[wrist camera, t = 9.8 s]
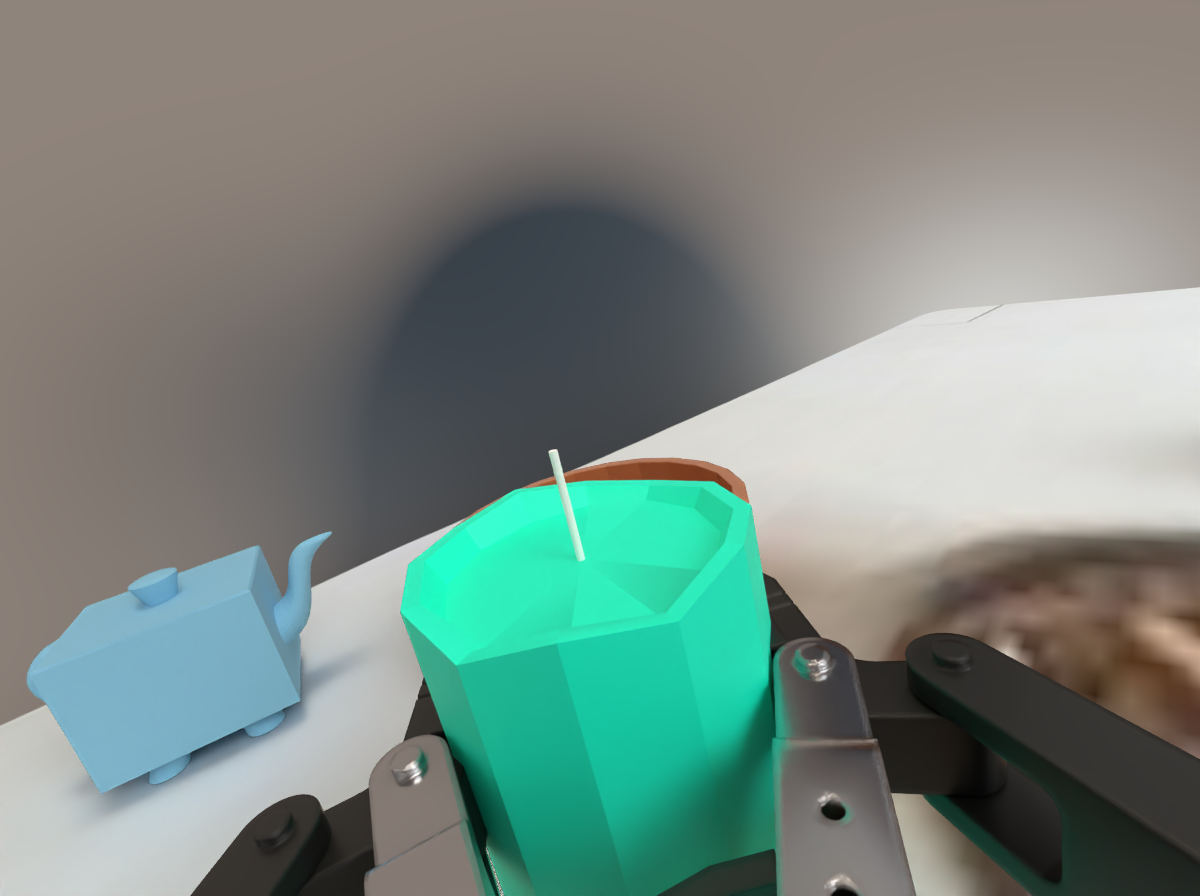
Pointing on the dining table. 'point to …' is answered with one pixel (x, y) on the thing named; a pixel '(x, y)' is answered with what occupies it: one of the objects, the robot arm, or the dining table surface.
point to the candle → (604, 680)
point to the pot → (651, 474)
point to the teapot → (177, 664)
